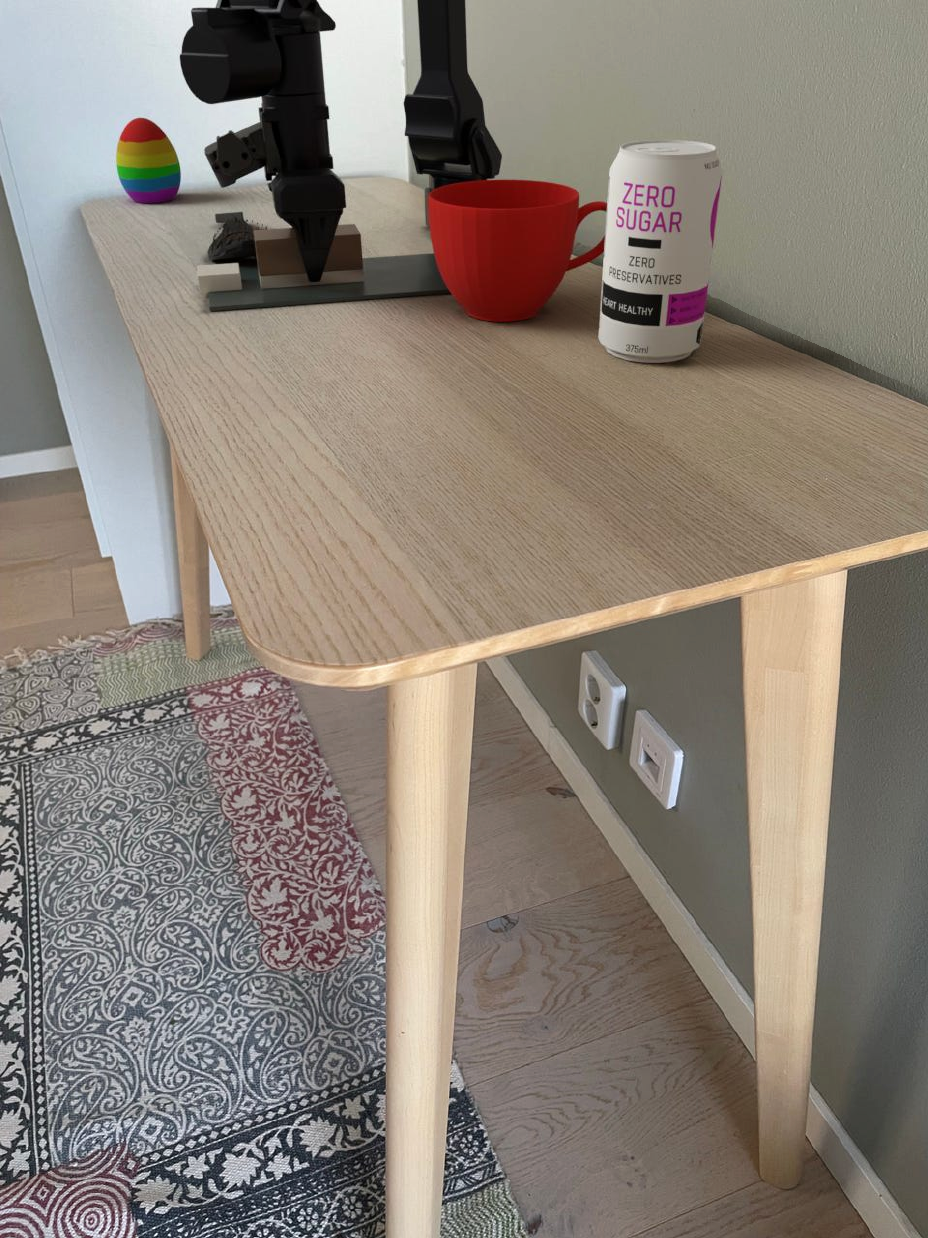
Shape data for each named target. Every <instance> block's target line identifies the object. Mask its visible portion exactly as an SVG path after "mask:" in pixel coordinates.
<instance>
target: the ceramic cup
mask: <svg viewBox="0 0 928 1238" xmlns="http://www.w3.org/2000/svg"><path fill="white" fill-rule="evenodd" d="M598 211H604V212H606V213H607V201H602V200H601V201H600V200H597V201H590V202H588V203H586V204H584V205H582V206H580V192H579V191H578V190H577V189H576V188H573V187H571V186H568V185H564V184H559V183H555V182H548V181H543V180H531V179H487V180H480V181H469V182H461V183H455V184H450V185H446V186H442V187H439V188H436V189H434V190H433V191H431V192H430V194H429V196H428V214H429V224H430V229H429V233H430V238H431V240H430V241H431V246H432V251H433V253H434V255H435V259H436V263H437V266H438V269H439V272H440V274H441V277H442V279H443V281H444V283H445V285H446V287H447V288H448V290H449V291H450V293H449V294H451V295H452V297H453V298H454V299H455V300H456V302H457V303H458V304H459V305H460V306H461V307H462V308H463V309H464V310H465V313H466V315H468V316H469V317H471V318H474V319H477V320H481V321H487V322H496V323H497V322H498V323H505V322H518V321H524V320H527V319H531V318H533V317H535V316H536V315H538V314H539V312H540V310H541V309H542V307H544V305H546V303H547V302H548V301H549V300H550V299H551V297H552V296H553V295H554V293H555V292H556V291H557V289H558V288H559V286H560V285H561V283H562V281H563V279H564V278H565V275H566V273H567V272H569V271H572V270H574V269H577V268H579V267H581V266H584V265H586V264H588V263H590V262H592V261H594V260H595V259H597V258H598V257H600V256H601V255H602V254H604V246H605V235H604V236H603V237H602V238H601V240H600V241H599V242H598V243H597V244H596V245H595V246H594V247H593V248H591V249H590V250H588V251H586V252H585V253H583V254H581V255H579V256H577V257H574V258H572V253H573V249H574V245H575V240H576V234H577V232H578V228H579V226H580V224H581V223H582V221H583V220H584V219H585V218H587V216H588V215H591V214H592V213H594V212H598Z"/></svg>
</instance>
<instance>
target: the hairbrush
mask: <svg viewBox="0 0 928 1238" xmlns="http://www.w3.org/2000/svg"><path fill="white" fill-rule="evenodd" d="M214 218H215V220H214V221H215V223H216V224H224V225H223V226H222V227H223V228H222V227H218V230H217V231H216V232H215V233H214V234H213V237H212V243H210V245H209V247H208V249H207V257H208V260H209V261H216V260H227V259H238V258H249V257H257V256H256V248H255V240H254V232H253V230H265V229H268V226H267V225H266V226H265V227H264V228H263V229H262V228H261V229H260V226H258V225H259V222H257V223H256V224H257V226H258V227H256V228H253V225H251V226H250V224H249V223H248V222H249V219H245V218H244V213H243V211H233V212H222V213H215V214H214ZM251 222H252V223H251V224H253V223H254V220H251ZM263 226H264V225H263V223H261V227H263ZM220 231H221V232H220Z"/></svg>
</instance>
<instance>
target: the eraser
mask: <svg viewBox="0 0 928 1238" xmlns="http://www.w3.org/2000/svg"><path fill="white" fill-rule="evenodd" d="M253 232H254V240H255V248H256V256H255V257H256V262H257V263H256V265H258V272H259V279H260V284H261V289H269V288H283V287H297V286H311V285H324V284H338V283H352V282H364V274H363V260H362V258H363V248H362V234H361V231H360V230H359V228H358V227H357V226H356V224H355V223H349V224H338V226H337V229H336V232H335V235H334V239H333V242H332V245H331V248H330V251H329V254H328V258H327V261H326V264H325V267H324V271H323V274H322V277H321V280H320V281H319V282H309V280H308V277H307V273H306V270H305V266H304V263H303V259H302V256H301V252H300V249H299V245H298V242H297V238H296V235H295V231H294V229H293V228H292V227H283V228H267V229H265V228H264V230H263V229H262V230H261V229H259V230H258V229H254V230H253Z"/></svg>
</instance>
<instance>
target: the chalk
mask: <svg viewBox="0 0 928 1238" xmlns="http://www.w3.org/2000/svg"><path fill="white" fill-rule="evenodd" d="M239 267H240V263H239V262H231V263H229V262H228V263H217V264H205V265H204V264H202V265H201V264H200V265H197V267H196V268H197V273H196V274H197V281H198V289H199V293H200V294H203V293H204V294H205V293H209V292H219V291H233V290H242V283H241V276H240V269H239Z"/></svg>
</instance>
